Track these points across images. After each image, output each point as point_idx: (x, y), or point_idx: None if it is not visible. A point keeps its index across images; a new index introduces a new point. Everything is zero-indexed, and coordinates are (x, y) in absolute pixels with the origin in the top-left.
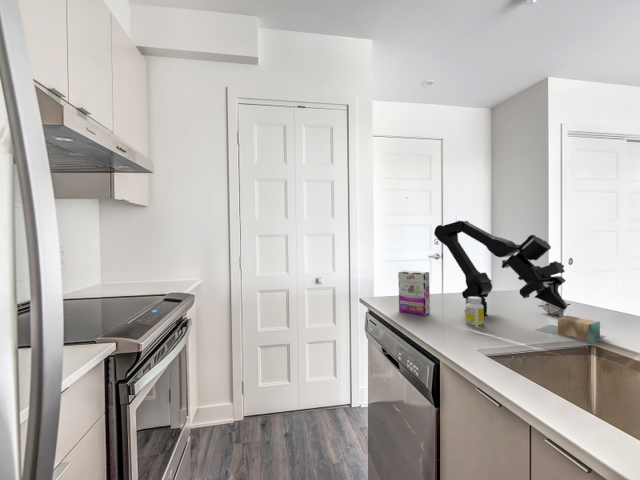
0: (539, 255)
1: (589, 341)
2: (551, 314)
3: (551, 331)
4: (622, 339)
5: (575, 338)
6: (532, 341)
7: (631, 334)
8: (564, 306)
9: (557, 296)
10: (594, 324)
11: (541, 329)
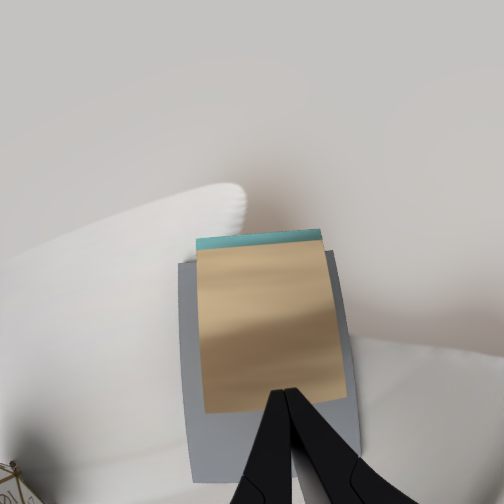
0: None
1: None
2: (43, 502)
3: None
4: (144, 232)
5: None
6: (468, 372)
7: (61, 242)
8: (302, 396)
9: (333, 478)
10: (279, 233)
11: None
